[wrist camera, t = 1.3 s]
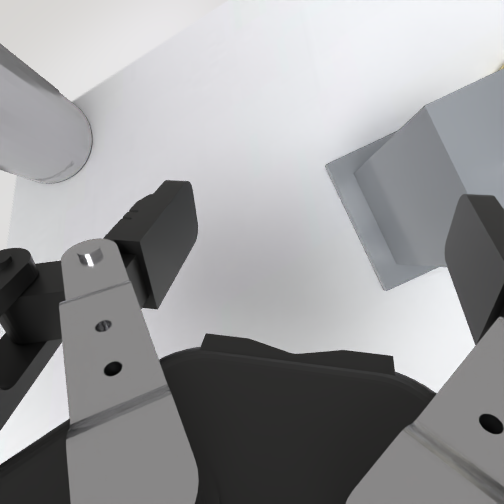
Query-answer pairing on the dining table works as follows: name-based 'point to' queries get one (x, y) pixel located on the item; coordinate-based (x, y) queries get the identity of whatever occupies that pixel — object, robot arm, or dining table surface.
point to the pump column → (423, 179)
